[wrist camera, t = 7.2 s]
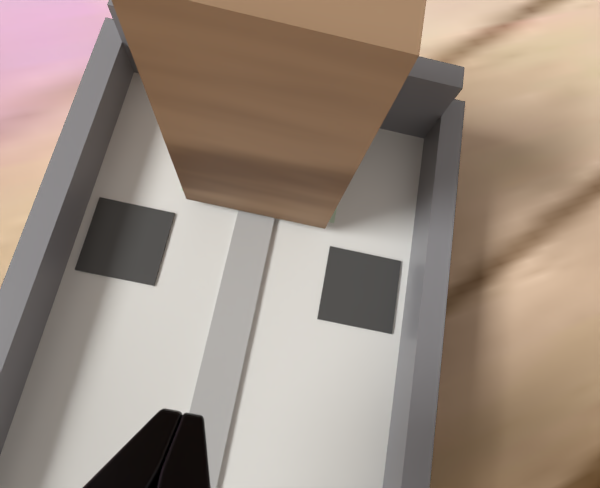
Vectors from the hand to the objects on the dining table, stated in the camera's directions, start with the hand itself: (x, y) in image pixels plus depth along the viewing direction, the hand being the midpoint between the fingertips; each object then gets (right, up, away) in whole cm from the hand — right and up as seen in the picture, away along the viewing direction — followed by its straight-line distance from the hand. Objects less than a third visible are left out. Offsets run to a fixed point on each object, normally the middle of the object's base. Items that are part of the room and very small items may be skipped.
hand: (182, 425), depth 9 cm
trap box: (0, +2, +11) cm, 11 cm away
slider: (+1, +7, +11) cm, 13 cm away
